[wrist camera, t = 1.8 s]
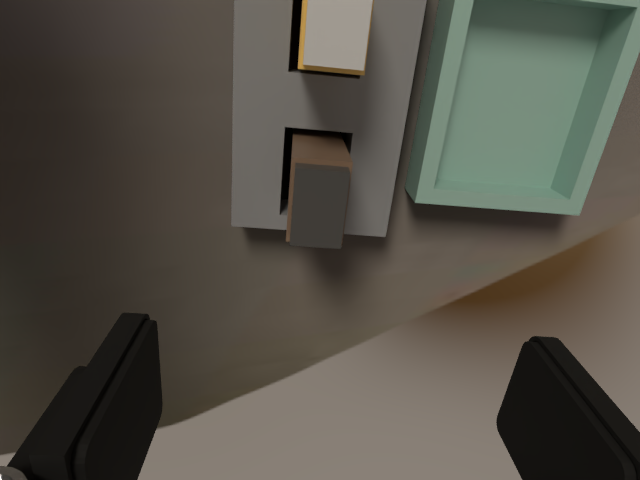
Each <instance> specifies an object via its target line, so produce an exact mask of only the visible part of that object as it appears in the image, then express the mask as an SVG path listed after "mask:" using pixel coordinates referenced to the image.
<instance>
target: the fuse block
mask: <svg viewBox="0 0 640 480" xmlns="http://www.w3.org/2000/svg"><path fill="white" fill-rule="evenodd" d="M426 1H427V0H374V5H373V13H372V21H371V28H370V36H369V44H368V51H367V59H366V67H365V75H349V74H339V73H329V72H319V71H309V70H299V69H289V64H290V48H291V32H292V16H293V0H234V51H233V130H232V210H231V226H236V227H250V228H264V229H279V230H286V229H287V213H288V200H285V199H281V193H282V177H283V161H284V145H285V129H286V127H291V128H302V129H313V130H324V131H336V132H347V134H346V142H345V145H346V148H347V150H348V152H349V154H350V157H351V159H352V161H353V166H352V174H351V182H350V189H349V197H348V205H347V213H346V220H345V228H344V234H350V235H364V236H379V237H386V232H387V226H388V220H389V215H390V209H391V203H392V197H393V192H394V186H395V180H396V174H397V169H398V163H399V157H400V151H401V145H402V140H403V134H404V128H405V122H406V117H407V111H408V105H409V99H410V94H411V88H412V82H413V76H414V71H415V65H416V59H417V53H418V48H419V42H420V36H421V30H422V24H423V19H424V13H425V7H426Z"/></svg>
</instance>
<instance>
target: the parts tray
mask: <svg viewBox="0 0 640 480" xmlns="http://www.w3.org/2000/svg"><path fill="white" fill-rule="evenodd" d="M639 51H640V0H439V4H438V9H437V15H436V20H435V26H434V31H433V37H432V42H431V48H430V53H429V58H428V64H427V69H426V75H425V80H424V86H423V91H422V96H421V102H420V107H419V113H418V118H417V124H416V129H415V134H414V140H413V145H412V151H411V156H410V162H409V167H408V173H407V178H406V183H405V189H406V191H407V192H408V194H409V195H410V196H411V198H412V199H413V201H414V202H415V203H424V204H437V205H450V206H463V207H476V208H489V209H502V210H515V211H528V212H541V213H554V214H567V215H580V212H581V209H582V207H583V204H584V201H585V198H586V196H587V193H588V190H589V188H590V185H591V182H592V179H593V177H594V174H595V171H596V169H597V166H598V163H599V160H600V158H601V155H602V152H603V149H604V147H605V144H606V141H607V139H608V136H609V133H610V130H611V128H612V125H613V122H614V120H615V117H616V114H617V111H618V109H619V106H620V103H621V100H622V98H623V95H624V92H625V90H626V87H627V84H628V81H629V79H630V76H631V73H632V70H633V68H634V65H635V62H636V60H637V57H638V54H639Z"/></svg>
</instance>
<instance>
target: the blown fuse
mask: <svg viewBox="0 0 640 480" xmlns="http://www.w3.org/2000/svg"><path fill="white" fill-rule="evenodd" d="M352 166H353V161H352V159H351V157H350V154H349V152H348V150H347V148H346V145H345V143H344V141H343V139H342V136H341V134H340V132H336V131H324V130H313V129H302V128H293V139H292V154H291V168H290V183H289V198H288V213H287V229H286V242H290V246H303V247H318V248H332V249H341V245H342V244H343V236H344V228H345V220H346V213H347V205H348V197H349V189H350V182H351V174H352Z"/></svg>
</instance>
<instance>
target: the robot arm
mask: <svg viewBox="0 0 640 480" xmlns="http://www.w3.org/2000/svg"><path fill="white" fill-rule="evenodd" d="M161 412H162V390H161V375H160V360H159V345H158V331H157V322H156V321H155V320H150V318H149V315H148V314H138V313H122V314H121V316H120V317H119V319H118V320H117V322H116V323H115V325H114V326H113V328H112V329H111V331H110V332H109V334H108V335H107V337H106V338H105V340H104V341H103V343H102V344H101V346H100V347H99V349H98V350H97V352H96V353H95V355H94V357H93V358H92V360H91V361H90V363H89V364H88V366H87V367H83V366H79V367H77V368H75V370H74V371H73V372H72V373H71V374H70V376H69V377H68V379H67V380H66V382H65V383H64V384H63V386H62V387H61V389H60V390H59V392H58V393H57V395H56V396H55V397H54V399H53V400H52V402H51V403H50V405H49V406H48V408H47V409H46V410H45V412H44V413H43V415H42V416H41V418H40V419H39V421H38V422H37V423H36V425H35V426H34V428H33V429H32V431H31V432H30V434H29V435H28V436H27V438H26V439H25V441H24V442H23V444H22V445H21V447H20V448H19V449H18V451H17V452H16V454H15V455H14V457H13V458H12V460H11V461H10V462H9V464H8V465H7V467H5V466H0V480H137V479H138V476H139V473H140V471H141V468H142V465H143V463H144V460H145V457H146V455H147V452H148V449H149V446H150V444H151V441H152V438H153V436H154V433H155V431H156V428H157V425H158V423H159V420H160V417H161ZM497 429H498V432H499V434H500V436H501V438H502V440H503V442H504V444H505V446H506V448H507V450H508V452H509V454H510V456H511V458H512V460H513V462H514V464H515V466H516V468H517V470H518V472H519V474H520V476H521V478H522V480H640V432H639V431H638V430H637V429H636V428H635V426H634V425H633V424H632V423H631V422H630V421H629V420H628V418H627V417H626V416H625V415H624V414H623V413H622V411H621V410H620V409H619V408H618V407H617V406H616V404H615V403H614V402H613V401H612V400H611V399H610V398H609V396H608V395H607V394H606V393H605V392H604V391H603V389H602V388H601V387H600V386H599V385H598V384H597V382H596V381H595V380H594V379H593V378H592V377H591V376H590V375H589V373H588V372H587V371H586V370H585V369H584V368H583V366H582V365H581V364H580V363H579V362H578V361H577V359H576V358H575V357H574V356H573V355H572V354H571V352H570V351H569V350H568V349H567V348H566V347H565V346H564V344H563V343H562V342H561V341H560V340H559V339H558V338H554V337H539V336H534V337H531V338H530V340H529V341H527V342H525V343H524V344H523V346H522V348H521V351H520V354H519V357H518V359H517V362H516V366H515V368H514V371H513V374H512V376H511V379H510V382H509V385H508V388H507V391H506V394H505V396H504V399H503V402H502V405H501V407H500V410H499V413H498V416H497Z"/></svg>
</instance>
